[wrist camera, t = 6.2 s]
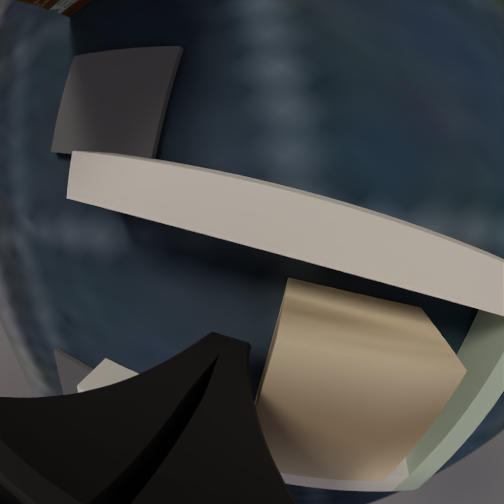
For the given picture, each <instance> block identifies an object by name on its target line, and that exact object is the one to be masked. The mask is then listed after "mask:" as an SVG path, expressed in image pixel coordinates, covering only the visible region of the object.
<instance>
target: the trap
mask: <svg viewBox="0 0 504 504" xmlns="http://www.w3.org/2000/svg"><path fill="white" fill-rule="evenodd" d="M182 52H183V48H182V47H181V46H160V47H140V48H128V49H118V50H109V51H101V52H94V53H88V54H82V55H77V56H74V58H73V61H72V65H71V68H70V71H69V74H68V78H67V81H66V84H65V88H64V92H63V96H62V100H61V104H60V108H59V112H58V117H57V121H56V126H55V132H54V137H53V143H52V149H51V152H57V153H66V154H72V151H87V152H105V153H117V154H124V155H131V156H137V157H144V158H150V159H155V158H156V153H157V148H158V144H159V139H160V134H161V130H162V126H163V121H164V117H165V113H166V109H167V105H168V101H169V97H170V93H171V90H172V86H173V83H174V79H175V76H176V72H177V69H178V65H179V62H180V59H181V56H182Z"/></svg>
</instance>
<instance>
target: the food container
mask: <svg viewBox="0 0 504 504" xmlns="http://www.w3.org/2000/svg"><path fill="white" fill-rule="evenodd" d="M17 1H21V2H25V3H28V4H32V5H35V6H38V7H41V8H44V9H48V10H51V11H53V12H56V13H59V14H62V15H65V16H67V17H71V16H72V15H73V14H75V13H76V12H77V11H79V10H80V9H81V8H83V7H84V6H85V5H87V4H88V3H89V2H90V1H91V0H17Z"/></svg>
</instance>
